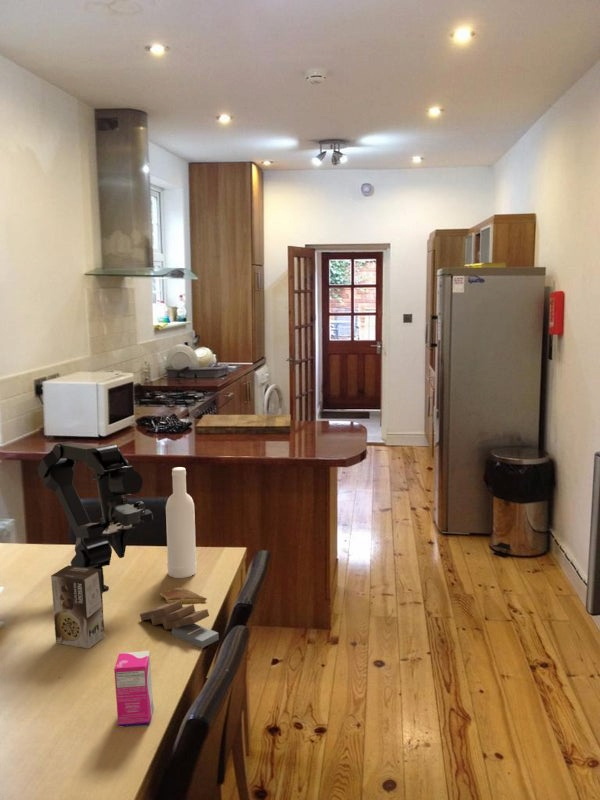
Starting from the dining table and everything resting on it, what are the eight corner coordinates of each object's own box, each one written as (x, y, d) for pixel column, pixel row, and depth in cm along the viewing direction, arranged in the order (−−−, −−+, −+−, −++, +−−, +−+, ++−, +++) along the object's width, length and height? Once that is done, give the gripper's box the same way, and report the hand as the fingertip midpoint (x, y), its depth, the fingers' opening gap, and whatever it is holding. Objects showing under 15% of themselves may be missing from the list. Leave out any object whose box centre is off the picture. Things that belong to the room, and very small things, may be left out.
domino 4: (171, 628, 161) (202, 641, 155) (188, 620, 165) (218, 632, 158) (172, 635, 161) (202, 648, 155) (188, 627, 165) (218, 639, 159)
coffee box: (105, 636, 161) (102, 568, 158) (88, 649, 155) (85, 579, 152) (72, 630, 164) (68, 564, 161) (54, 643, 157) (50, 574, 155)
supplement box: (121, 709, 132) (119, 651, 130) (154, 707, 132) (151, 650, 131) (116, 727, 126) (113, 667, 124) (150, 725, 127) (147, 666, 125)
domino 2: (150, 618, 166) (177, 611, 160) (166, 611, 170) (193, 604, 164) (153, 625, 166) (179, 619, 160) (168, 618, 170) (195, 611, 164)
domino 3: (162, 622, 163) (192, 616, 158) (177, 615, 167) (207, 608, 162) (164, 630, 163) (194, 623, 158) (180, 622, 167) (209, 616, 162)
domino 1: (139, 614, 169) (164, 607, 162) (155, 606, 172) (180, 600, 166) (141, 621, 168) (166, 614, 162) (158, 613, 172) (182, 607, 166)
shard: (207, 603, 179) (207, 597, 179) (183, 613, 173) (182, 606, 173) (181, 591, 186) (180, 585, 186) (156, 600, 181) (156, 594, 180)
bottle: (201, 573, 197) (198, 468, 193) (177, 580, 192) (173, 473, 188) (186, 565, 203) (183, 463, 199) (162, 572, 198) (158, 468, 194)
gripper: (95, 502, 163) (106, 569, 163) (160, 486, 177) (171, 548, 177) (71, 504, 171) (81, 567, 171) (135, 488, 185) (145, 547, 185)
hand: (121, 557), depth 176 cm, fingers closed
